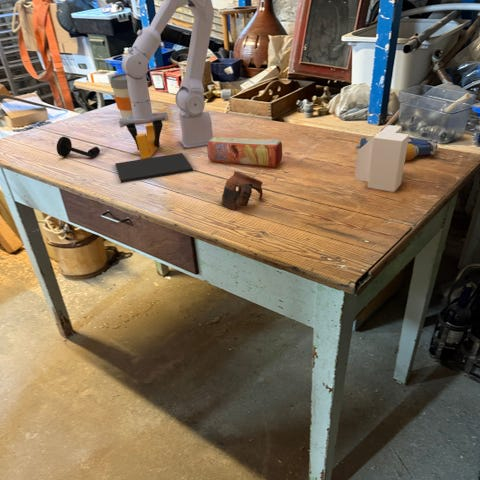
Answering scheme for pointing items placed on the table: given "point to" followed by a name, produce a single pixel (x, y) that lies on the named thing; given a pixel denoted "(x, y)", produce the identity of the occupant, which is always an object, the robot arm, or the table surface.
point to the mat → (153, 167)
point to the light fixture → (66, 147)
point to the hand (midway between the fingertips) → (148, 147)
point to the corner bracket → (383, 159)
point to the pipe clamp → (147, 142)
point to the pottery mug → (240, 190)
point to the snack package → (245, 151)
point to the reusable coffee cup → (121, 94)
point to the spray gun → (412, 146)
